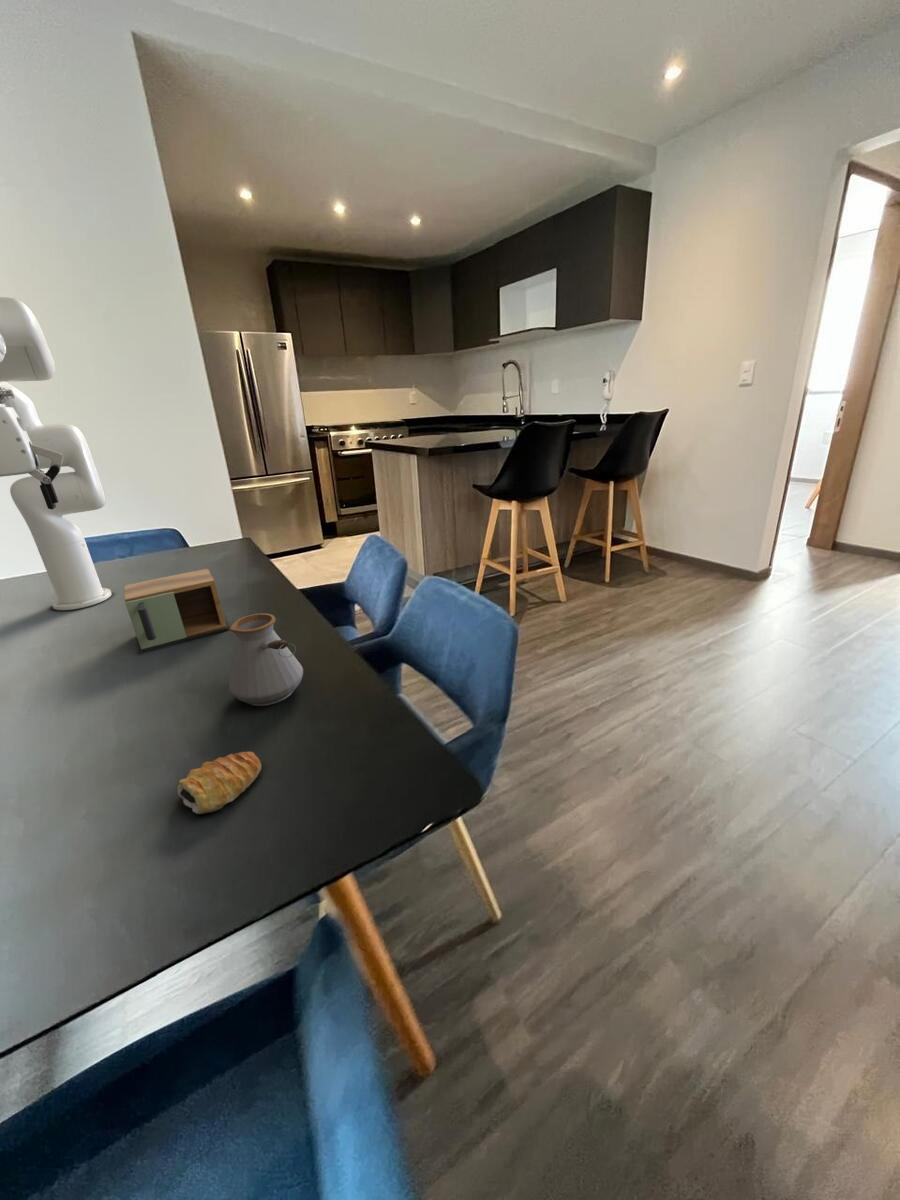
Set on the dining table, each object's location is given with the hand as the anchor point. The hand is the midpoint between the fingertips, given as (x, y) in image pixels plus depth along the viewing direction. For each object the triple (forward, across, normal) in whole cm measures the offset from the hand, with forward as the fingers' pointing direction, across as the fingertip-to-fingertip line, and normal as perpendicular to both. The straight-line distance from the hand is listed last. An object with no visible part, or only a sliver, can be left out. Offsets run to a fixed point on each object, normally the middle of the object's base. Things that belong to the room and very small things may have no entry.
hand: (16, 513), depth 79 cm
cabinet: (+30, -18, -8) cm, 36 cm away
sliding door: (+29, -14, -1) cm, 33 cm away
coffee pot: (+31, -28, +34) cm, 54 cm away
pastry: (+31, -18, +48) cm, 59 cm away
